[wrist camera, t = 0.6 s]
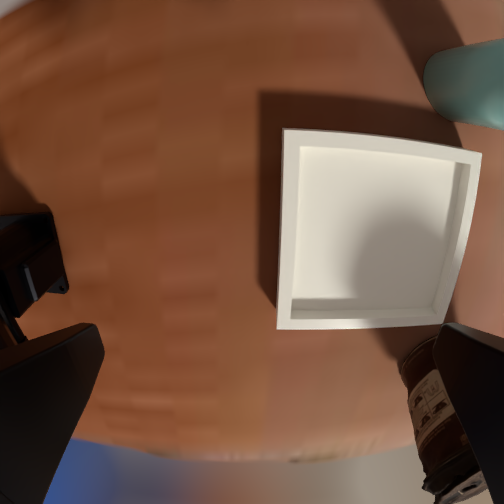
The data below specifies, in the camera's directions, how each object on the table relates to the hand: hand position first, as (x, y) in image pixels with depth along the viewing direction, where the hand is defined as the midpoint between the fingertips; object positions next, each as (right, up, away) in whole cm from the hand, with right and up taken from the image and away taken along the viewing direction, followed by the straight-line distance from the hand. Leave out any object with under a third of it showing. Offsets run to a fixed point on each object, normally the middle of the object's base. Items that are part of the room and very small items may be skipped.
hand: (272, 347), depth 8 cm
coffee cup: (+15, -7, +17) cm, 24 cm away
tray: (+7, +4, +12) cm, 14 cm away
